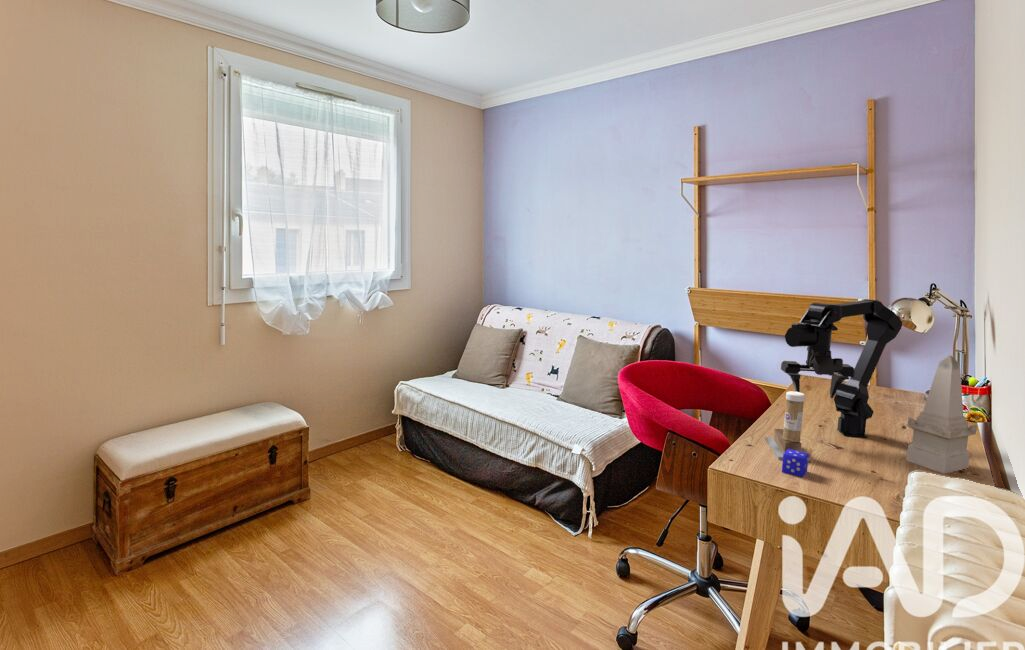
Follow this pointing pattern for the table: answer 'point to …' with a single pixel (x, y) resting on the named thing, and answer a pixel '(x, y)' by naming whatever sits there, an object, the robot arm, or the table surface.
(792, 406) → the spice jar
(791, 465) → the die
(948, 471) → the miniature monument
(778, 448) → the ridge
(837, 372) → the robot arm
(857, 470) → the table surface
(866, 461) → the table surface
